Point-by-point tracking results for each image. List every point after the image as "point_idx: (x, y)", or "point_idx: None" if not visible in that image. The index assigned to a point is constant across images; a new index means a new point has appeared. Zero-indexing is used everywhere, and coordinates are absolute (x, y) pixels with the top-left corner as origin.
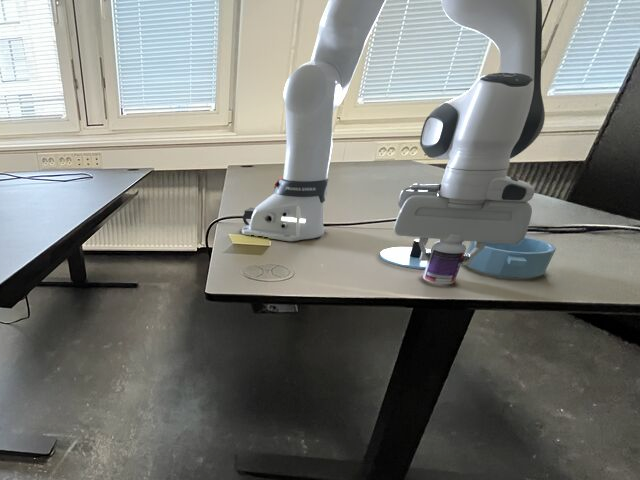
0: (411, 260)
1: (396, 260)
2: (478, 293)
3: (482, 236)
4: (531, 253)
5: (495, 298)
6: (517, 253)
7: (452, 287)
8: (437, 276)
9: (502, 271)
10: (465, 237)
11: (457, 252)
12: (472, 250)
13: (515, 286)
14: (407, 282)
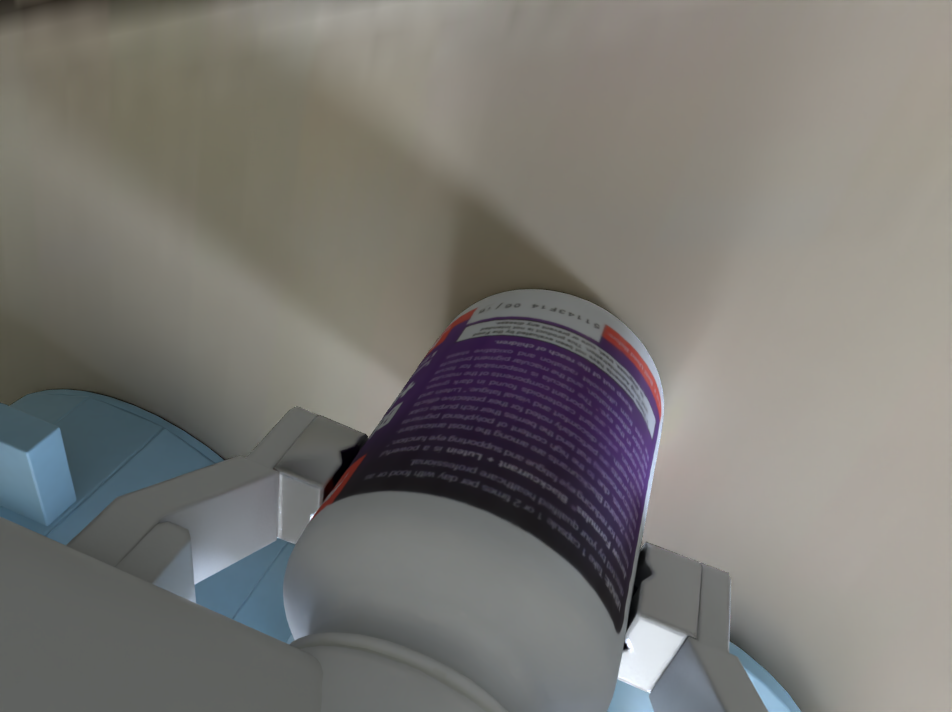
0: (628, 696)
1: None
2: (307, 148)
3: (42, 620)
4: None
5: (206, 44)
6: None
7: (468, 269)
8: (588, 348)
9: (132, 446)
10: (249, 677)
11: (389, 500)
12: (236, 550)
13: (93, 296)
14: (825, 380)
